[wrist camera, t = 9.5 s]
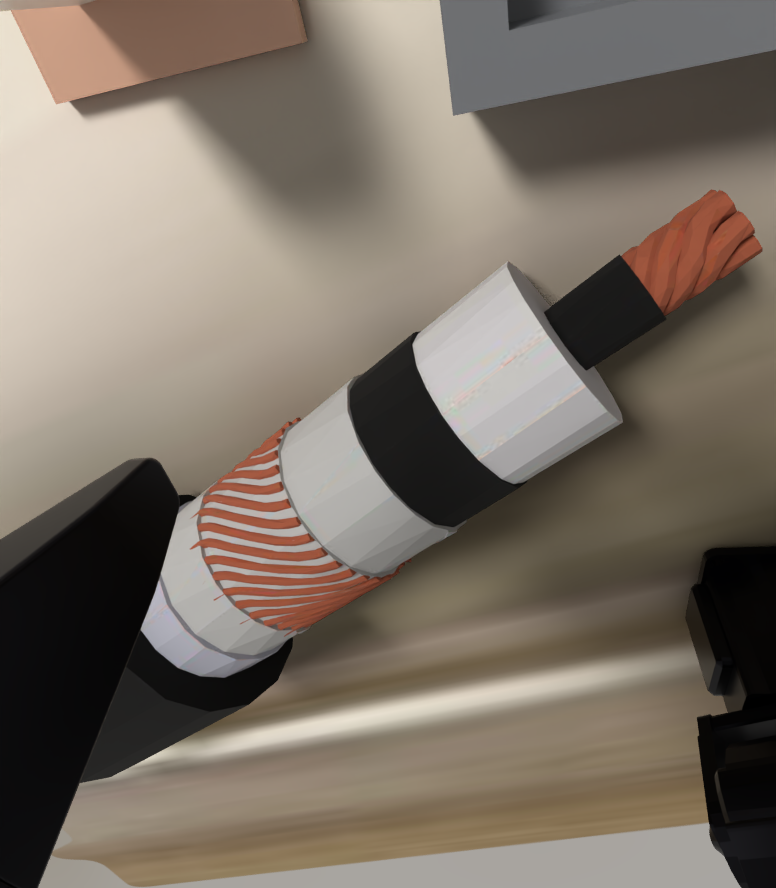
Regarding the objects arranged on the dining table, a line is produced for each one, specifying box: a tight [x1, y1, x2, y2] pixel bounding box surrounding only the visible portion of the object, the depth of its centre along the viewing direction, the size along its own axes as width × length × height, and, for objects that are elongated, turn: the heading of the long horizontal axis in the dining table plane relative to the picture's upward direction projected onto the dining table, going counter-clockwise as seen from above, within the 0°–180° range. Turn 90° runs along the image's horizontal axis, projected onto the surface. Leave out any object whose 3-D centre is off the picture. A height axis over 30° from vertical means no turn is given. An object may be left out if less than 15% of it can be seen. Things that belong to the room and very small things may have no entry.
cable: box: [80, 189, 762, 783], centre depth 23 cm, size 10×34×10 cm, turn 133°
